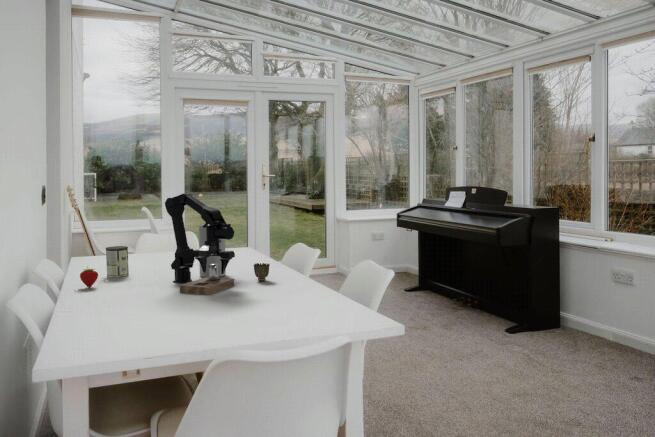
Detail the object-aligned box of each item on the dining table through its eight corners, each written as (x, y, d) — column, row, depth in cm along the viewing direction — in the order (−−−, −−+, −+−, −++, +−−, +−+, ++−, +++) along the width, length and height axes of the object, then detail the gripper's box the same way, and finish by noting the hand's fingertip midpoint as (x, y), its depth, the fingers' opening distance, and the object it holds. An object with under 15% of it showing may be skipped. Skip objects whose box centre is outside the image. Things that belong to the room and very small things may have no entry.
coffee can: (112, 273, 277) (111, 245, 276) (132, 273, 276) (131, 246, 275) (102, 277, 267) (101, 248, 265) (122, 277, 265) (121, 248, 264)
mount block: (179, 292, 231) (179, 285, 231) (207, 283, 250) (207, 276, 250) (208, 294, 226) (208, 287, 226) (234, 285, 246) (233, 278, 245)
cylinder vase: (194, 277, 266) (193, 225, 264) (209, 272, 278) (208, 223, 276) (216, 278, 261) (215, 226, 260) (230, 274, 273) (229, 224, 271)
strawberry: (97, 288, 240) (96, 265, 239) (78, 289, 238) (78, 266, 237) (99, 285, 246) (98, 263, 245) (81, 286, 244) (80, 264, 243)
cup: (266, 282, 251) (266, 265, 251) (251, 282, 253) (251, 265, 252) (271, 279, 259) (271, 262, 258) (256, 279, 260) (256, 262, 260)
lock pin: (207, 287, 242) (206, 264, 241) (212, 285, 246) (211, 263, 245) (215, 287, 240) (214, 265, 240) (220, 286, 244) (219, 263, 243)
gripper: (184, 239, 237) (185, 275, 238) (221, 241, 230) (222, 277, 232) (198, 236, 247) (199, 270, 249) (235, 238, 241) (235, 273, 242)
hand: (213, 273), depth 242 cm, fingers open, 9 cm apart
